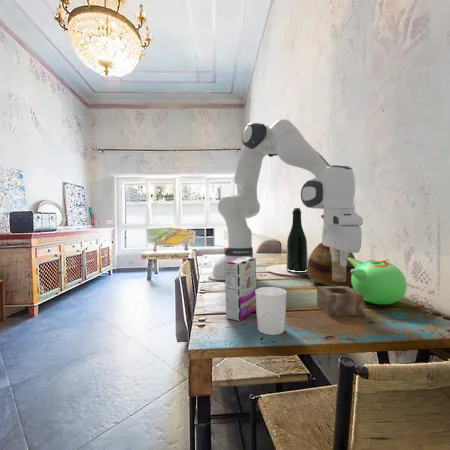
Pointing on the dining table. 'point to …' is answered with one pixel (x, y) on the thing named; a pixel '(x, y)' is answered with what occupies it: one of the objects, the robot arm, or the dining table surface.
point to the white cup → (271, 310)
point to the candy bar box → (240, 287)
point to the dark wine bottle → (297, 245)
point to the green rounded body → (378, 281)
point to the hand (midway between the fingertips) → (338, 263)
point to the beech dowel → (337, 266)
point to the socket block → (339, 300)
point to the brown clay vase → (326, 266)
